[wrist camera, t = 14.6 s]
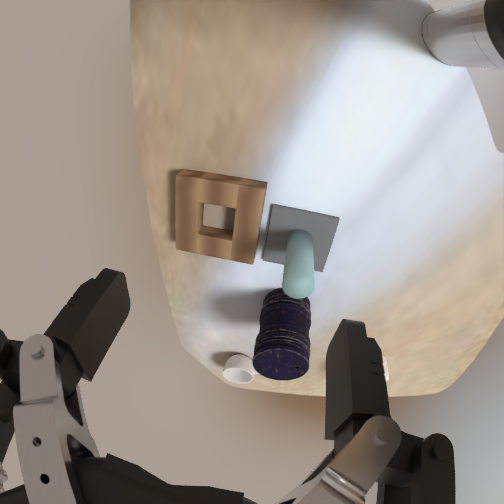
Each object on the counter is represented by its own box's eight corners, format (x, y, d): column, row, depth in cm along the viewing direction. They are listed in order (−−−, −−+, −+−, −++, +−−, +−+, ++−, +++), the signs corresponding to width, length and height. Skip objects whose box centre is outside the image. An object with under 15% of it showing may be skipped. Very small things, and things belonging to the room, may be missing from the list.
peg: (315, 232, 48) (318, 277, 38) (309, 254, 50) (309, 301, 40) (289, 227, 48) (285, 270, 38) (284, 248, 50) (279, 295, 41)
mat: (339, 217, 46) (339, 219, 46) (322, 269, 53) (322, 271, 52) (273, 203, 47) (273, 205, 46) (263, 258, 53) (262, 260, 53)
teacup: (230, 366, 75) (226, 383, 71) (223, 350, 71) (218, 367, 67) (267, 367, 73) (264, 384, 68) (262, 350, 69) (259, 368, 64)
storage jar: (262, 319, 62) (251, 377, 50) (262, 285, 57) (251, 346, 45) (308, 323, 61) (305, 382, 49) (314, 289, 55) (314, 351, 43)
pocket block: (267, 182, 45) (265, 189, 42) (255, 254, 53) (252, 264, 50) (182, 169, 46) (175, 175, 43) (181, 240, 54) (175, 249, 51)
